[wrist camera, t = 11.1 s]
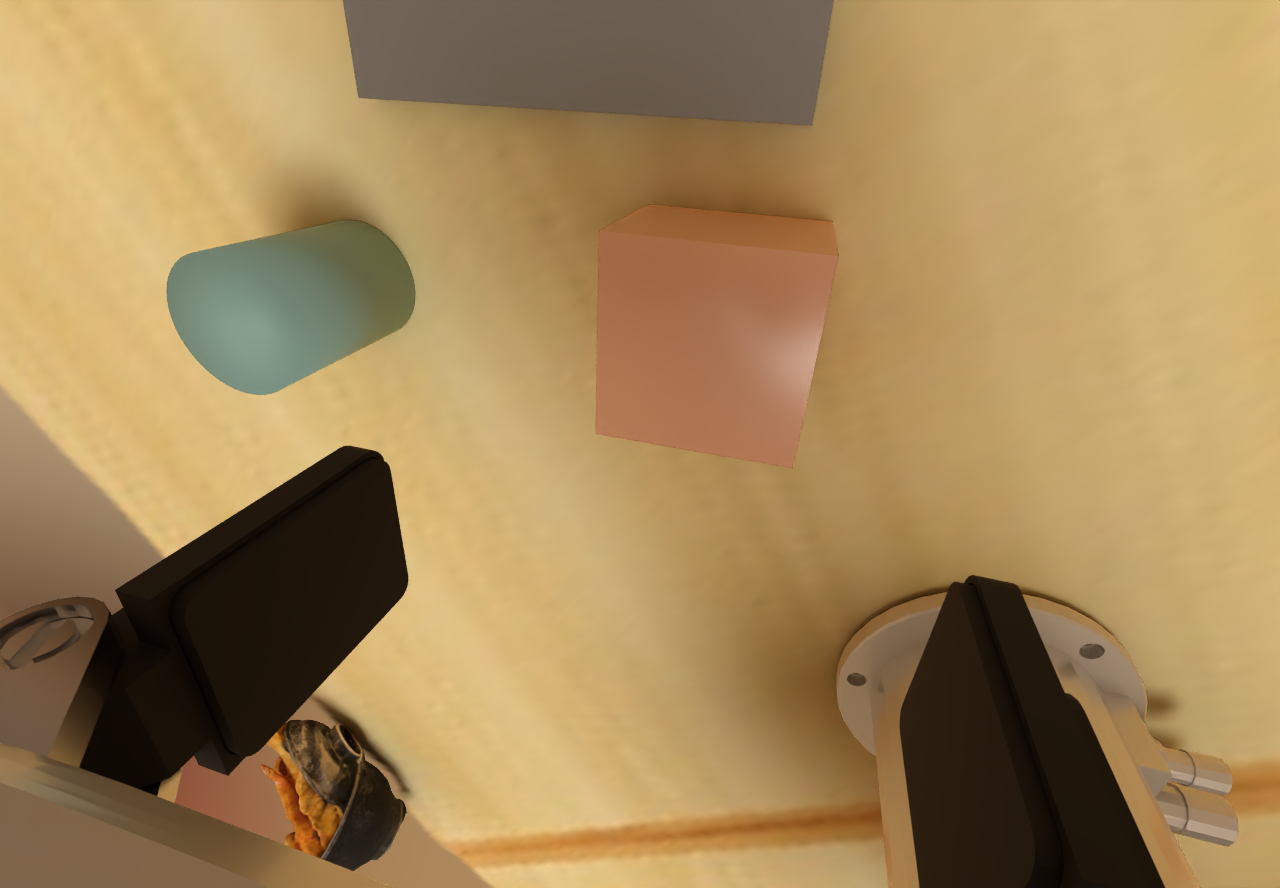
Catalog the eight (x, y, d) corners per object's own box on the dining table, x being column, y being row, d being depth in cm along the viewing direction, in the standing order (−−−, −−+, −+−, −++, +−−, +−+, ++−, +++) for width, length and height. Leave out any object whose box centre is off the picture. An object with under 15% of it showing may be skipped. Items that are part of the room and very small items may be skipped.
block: (832, 221, 20) (838, 255, 15) (797, 392, 23) (793, 468, 18) (649, 204, 21) (598, 230, 16) (640, 368, 25) (595, 433, 20)
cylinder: (406, 225, 24) (274, 260, 18) (422, 341, 27) (310, 404, 21) (302, 214, 25) (145, 244, 19) (327, 327, 28) (194, 384, 22)
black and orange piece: (345, 877, 47) (91, 826, 39) (412, 732, 53) (201, 660, 44) (381, 923, 41) (82, 873, 32) (454, 751, 46) (214, 670, 37)
